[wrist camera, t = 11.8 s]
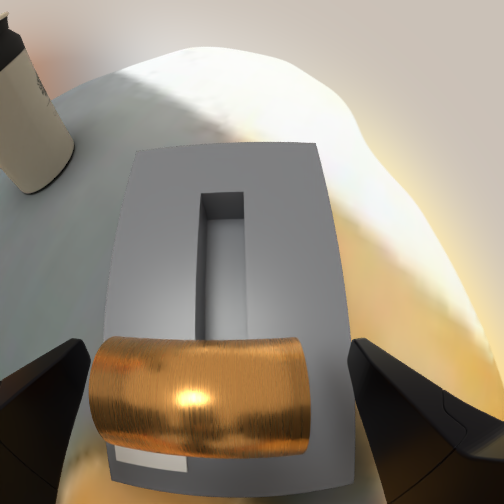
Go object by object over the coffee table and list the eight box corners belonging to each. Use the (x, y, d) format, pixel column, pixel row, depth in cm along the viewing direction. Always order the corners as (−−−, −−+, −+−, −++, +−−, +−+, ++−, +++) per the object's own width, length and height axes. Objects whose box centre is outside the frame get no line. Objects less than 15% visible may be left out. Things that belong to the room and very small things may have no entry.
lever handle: (273, 408, 13) (312, 471, 4) (184, 408, 13) (93, 456, 4) (270, 352, 14) (306, 329, 5) (183, 353, 14) (89, 327, 5)
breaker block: (331, 461, 12) (355, 484, 9) (138, 460, 12) (109, 481, 8) (305, 179, 20) (316, 141, 17) (151, 185, 20) (135, 149, 16)
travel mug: (21, 209, 20) (-77, 86, 3) (20, 165, 22) (-49, 59, 6) (80, 164, 21) (1, 11, 5) (71, 127, 24) (15, 6, 8)
